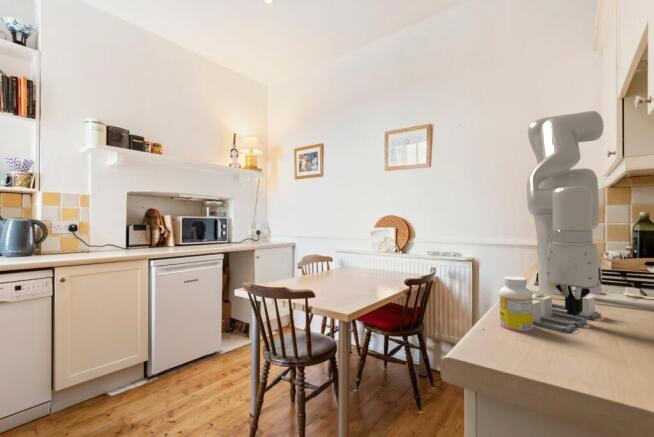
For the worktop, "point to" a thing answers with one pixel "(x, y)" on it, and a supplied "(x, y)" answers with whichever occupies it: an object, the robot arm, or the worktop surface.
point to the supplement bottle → (516, 305)
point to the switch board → (562, 314)
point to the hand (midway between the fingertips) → (573, 313)
